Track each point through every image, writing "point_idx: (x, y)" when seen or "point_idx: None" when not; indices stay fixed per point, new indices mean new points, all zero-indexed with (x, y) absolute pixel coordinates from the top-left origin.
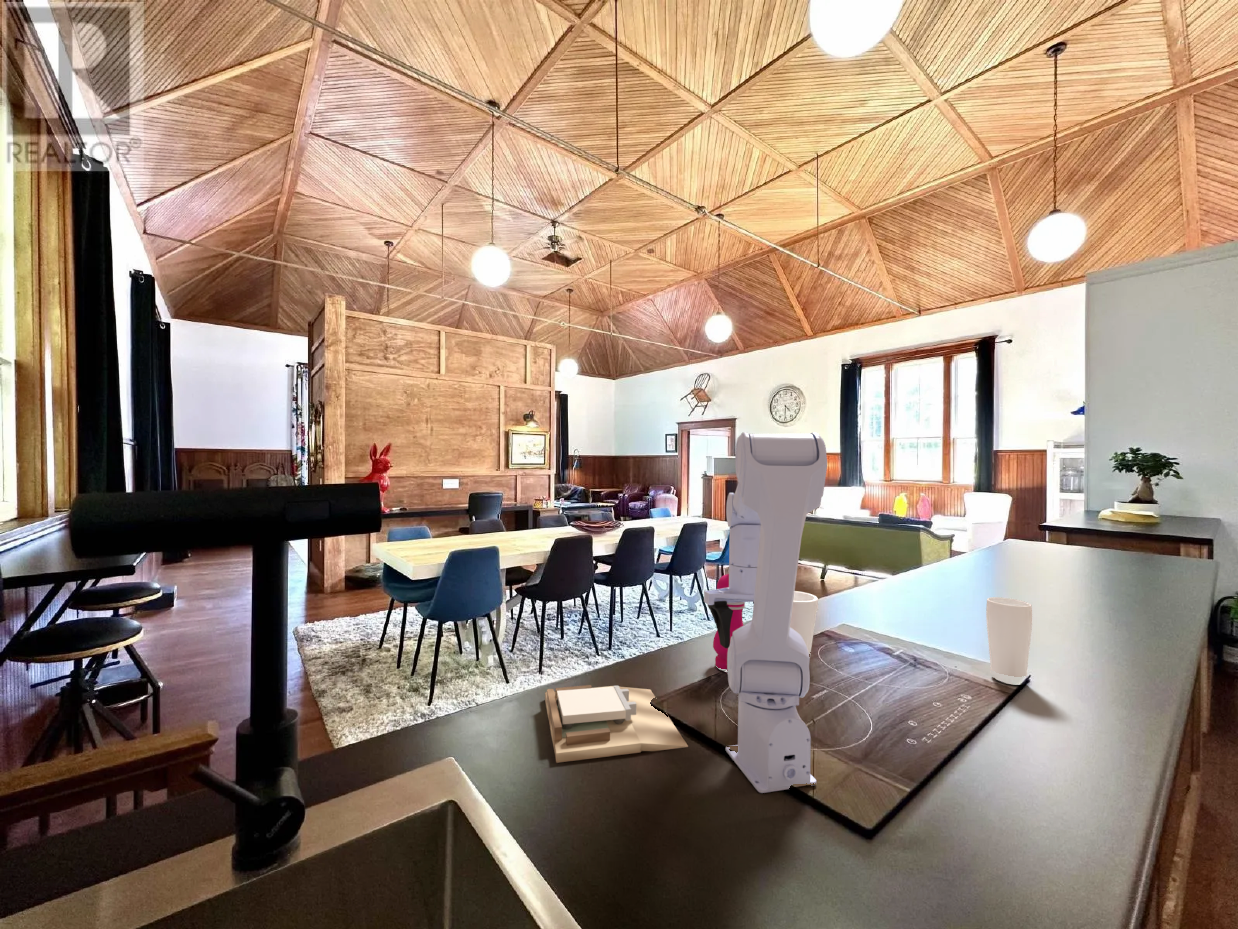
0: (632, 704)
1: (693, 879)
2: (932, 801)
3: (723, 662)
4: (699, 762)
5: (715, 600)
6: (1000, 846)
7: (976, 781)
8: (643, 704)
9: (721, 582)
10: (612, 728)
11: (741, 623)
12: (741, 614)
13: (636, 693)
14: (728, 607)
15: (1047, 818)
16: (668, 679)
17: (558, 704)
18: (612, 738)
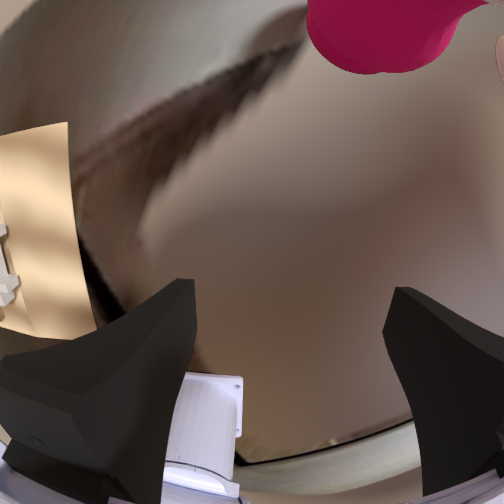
0: (3, 292)
1: None
2: (338, 452)
3: (322, 36)
4: None
5: (39, 495)
6: (332, 475)
7: (407, 436)
8: (38, 210)
9: None
10: None
11: (456, 18)
12: (484, 3)
13: (32, 157)
14: (142, 499)
15: (398, 459)
16: (127, 61)
17: None
18: (6, 314)
